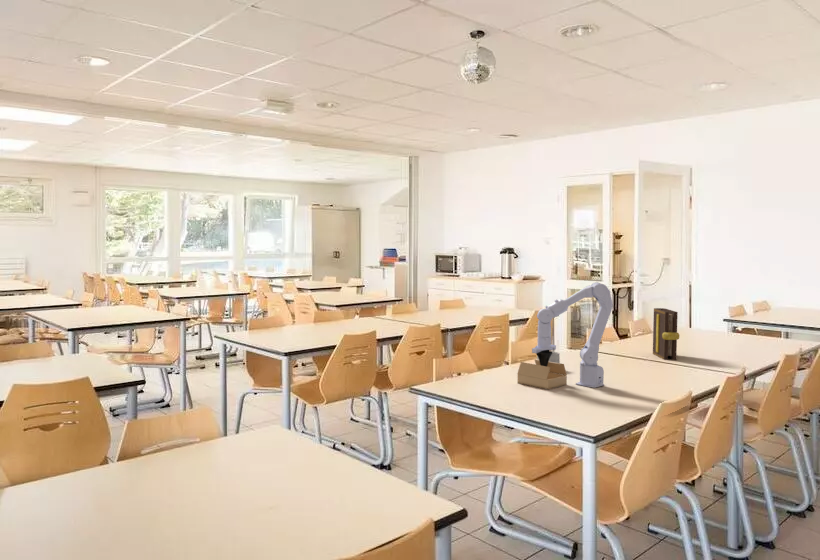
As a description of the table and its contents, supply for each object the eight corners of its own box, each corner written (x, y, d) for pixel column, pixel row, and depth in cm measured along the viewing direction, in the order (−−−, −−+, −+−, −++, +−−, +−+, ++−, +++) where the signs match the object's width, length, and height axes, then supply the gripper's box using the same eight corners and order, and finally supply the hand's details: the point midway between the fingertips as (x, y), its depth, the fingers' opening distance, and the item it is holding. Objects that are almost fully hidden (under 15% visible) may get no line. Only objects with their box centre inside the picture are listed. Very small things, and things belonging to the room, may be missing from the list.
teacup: (553, 372, 297) (553, 355, 297) (532, 369, 304) (532, 353, 303) (565, 367, 308) (566, 351, 308) (545, 365, 315) (545, 349, 314)
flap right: (566, 375, 271) (566, 374, 271) (563, 364, 269) (563, 364, 270) (537, 370, 283) (538, 369, 283) (534, 359, 281) (535, 359, 281)
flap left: (517, 374, 273) (517, 373, 273) (521, 362, 275) (520, 361, 274) (546, 380, 262) (546, 379, 262) (550, 367, 263) (549, 367, 263)
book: (649, 353, 348) (650, 308, 347) (665, 353, 348) (666, 308, 346) (664, 360, 326) (665, 312, 325) (680, 360, 326) (682, 312, 324)
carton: (566, 384, 271) (566, 375, 271) (547, 389, 262) (547, 380, 262) (536, 378, 283) (536, 369, 283) (517, 383, 274) (517, 374, 274)
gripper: (546, 334, 280) (546, 364, 281) (526, 337, 270) (526, 368, 271) (560, 335, 275) (559, 366, 275) (539, 339, 265) (539, 371, 266)
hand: (543, 367), depth 273 cm, fingers closed
